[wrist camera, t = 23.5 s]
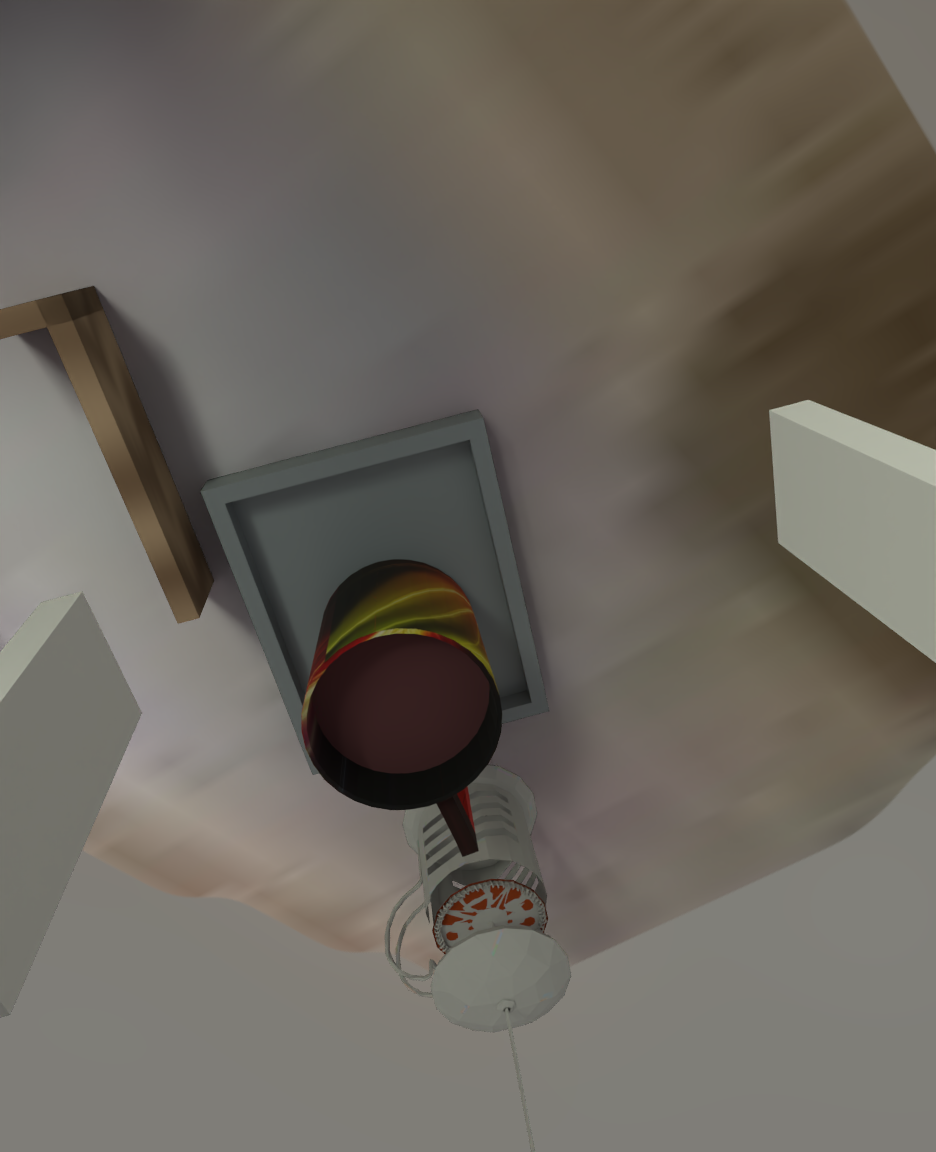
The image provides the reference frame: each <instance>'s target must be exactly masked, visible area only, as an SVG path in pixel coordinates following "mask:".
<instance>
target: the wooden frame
mask: <svg viewBox="0 0 936 1152" xmlns="http://www.w3.org/2000/svg"><path fill="white" fill-rule="evenodd" d="M46 327H47V328H48V331H49V333H50V335H51V337H52V340H53V342H54V344H55V346H56V349H57V351H58V353H59V356H60V358H61V360H62V362H63V365H64V367H65V369H66V371H67V374H68V376H69V378H70V380H71V383H72V385H73V387H74V389H75V392H76V394H77V396H78V399H79V401H80V403H81V405H82V408H83V410H84V412H85V414H86V417H87V419H88V421H89V423H90V426H91V428H92V430H93V433H94V435H95V437H96V439H97V442H98V444H99V446H100V448H101V451H102V453H103V455H104V457H105V460H106V462H107V464H108V467H109V469H110V471H111V473H112V476H113V478H114V480H115V482H116V485H117V487H118V489H119V491H120V494H121V496H122V498H123V500H124V503H125V505H126V507H127V510H128V512H129V514H130V516H131V519H132V521H133V523H134V525H135V528H136V530H137V532H138V534H139V537H140V539H141V541H142V544H143V546H144V548H145V550H146V553H147V555H148V557H149V559H150V562H151V564H152V566H153V568H154V571H155V573H156V575H157V577H158V580H159V582H160V584H161V587H162V589H163V591H164V593H165V596H166V598H167V600H168V602H169V605H170V607H171V609H172V611H173V614H174V616H175V618H176V621H177V623H178V624H179V623H182V622H186V621H190V620H194V619H197V618H200V615H201V613H202V610H203V607H204V605H205V602H206V600H207V597H208V595H209V592H210V590H211V587H212V585H213V582H214V579H213V577H212V574H211V572H210V569H209V567H208V564H207V562H206V560H205V557H204V555H203V552H202V550H201V547H200V545H199V542H198V540H197V538H196V535H195V533H194V530H193V528H192V525H191V523H190V520H189V518H188V516H187V513H186V511H185V508H184V506H183V503H182V501H181V498H180V496H179V493H178V491H177V489H176V486H175V484H174V481H173V479H172V476H171V474H170V471H169V469H168V467H167V464H166V462H165V459H164V457H163V454H162V452H161V449H160V447H159V445H158V442H157V440H156V437H155V435H154V432H153V430H152V427H151V425H150V423H149V420H148V418H147V415H146V413H145V410H144V408H143V405H142V403H141V400H140V398H139V396H138V393H137V391H136V388H135V386H134V383H133V381H132V378H131V376H130V374H129V371H128V369H127V366H126V364H125V361H124V359H123V356H122V354H121V352H120V349H119V347H118V344H117V342H116V339H115V337H114V334H113V332H112V329H111V327H110V325H109V322H108V320H107V317H106V315H105V312H104V310H103V307H102V305H101V303H100V300H99V298H98V295H97V293H96V290H95V288H94V286H91V287H87V288H83V289H79V290H75V291H71V292H67V293H63V294H59V295H55V296H51V297H47V298H43V299H39V300H35V301H31V302H27V303H23V304H19V305H16V306H12V307H8V308H4V309H0V339H3V338H7V337H10V336H14V335H18V334H22V333H26V332H30V331H34V330H38V329H42V328H46Z"/></svg>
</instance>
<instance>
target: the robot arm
mask: <svg viewBox="0 0 936 1152" xmlns="http://www.w3.org/2000/svg"><path fill="white" fill-rule="evenodd" d="M769 414H770V429H771V443H772V458H773V472H774V487H775V501H776V515H777V530H778V543H779V544H781V545H782V546H783V547H784V548H786V549H787V550H788V551H790V552H791V553H792V554H794V555H795V556H796V557H798V558H799V559H800V560H802V561H803V562H804V563H805V564H807V565H808V566H809V567H811V568H812V569H813V570H815V571H816V572H817V573H819V574H820V575H821V576H823V577H824V578H825V579H826V580H828V581H829V582H830V583H832V584H833V585H834V586H836V587H837V588H838V589H840V590H841V591H842V592H844V593H845V594H846V595H847V596H849V597H850V598H851V599H853V600H854V601H855V602H857V603H858V604H859V605H861V606H862V607H863V608H865V609H866V610H867V611H868V612H870V613H871V614H872V615H874V616H875V617H876V618H878V619H879V620H880V621H882V622H883V623H884V624H886V625H887V626H888V627H889V628H891V629H892V630H893V631H895V632H896V633H897V634H899V635H900V636H901V637H903V638H904V639H905V640H907V641H908V642H909V643H910V644H912V645H913V646H914V647H916V648H917V649H918V650H920V651H921V652H922V653H924V654H925V655H926V656H928V657H929V658H930V659H931V660H933V661H934V662H935V663H936V450H934V449H931V448H929V447H926V446H924V445H921V444H919V443H916V442H914V441H911V440H909V439H906V438H904V437H901V436H898V435H896V434H893V433H891V432H888V431H886V430H883V429H881V428H878V427H876V426H873V425H871V424H868V423H866V422H863V421H861V420H858V419H855V418H853V417H850V416H848V415H845V414H843V413H840V412H838V411H835V410H833V409H830V408H828V407H825V406H823V405H820V404H817V403H815V402H812V401H810V400H807V401H803V402H799V403H795V404H791V405H788V406H784V407H780V408H776V409H772V410H769ZM141 714H142V712H141V710H140V708H139V706H138V704H137V702H136V700H135V698H134V696H133V694H132V692H131V690H130V688H129V686H128V684H127V682H126V680H125V678H124V676H123V674H122V672H121V670H120V668H119V665H118V663H117V661H116V659H115V657H114V655H113V653H112V651H111V649H110V647H109V645H108V643H107V641H106V639H105V637H104V635H103V633H102V631H101V629H100V627H99V625H98V623H97V621H96V619H95V617H94V615H93V612H92V610H91V608H90V606H89V604H88V602H87V600H86V598H85V596H84V594H83V592H79V593H75V594H71V595H67V596H63V597H60V598H56V599H52V600H48V601H45V602H41V603H40V605H39V606H38V607H37V608H36V609H35V611H34V612H33V613H32V614H31V615H30V617H29V618H28V619H27V620H26V622H25V623H24V624H23V625H22V626H21V628H20V629H19V630H18V631H17V632H16V634H15V635H14V636H13V637H12V638H11V640H10V641H9V642H8V643H7V644H6V646H5V647H4V648H3V649H2V651H1V652H0V1018H1V1017H4V1016H8V1015H10V1014H11V1012H12V1010H13V1007H14V1005H15V1003H16V1000H17V998H18V996H19V993H20V991H21V989H22V986H23V984H24V982H25V980H26V977H27V975H28V973H29V971H30V968H31V966H32V964H33V961H34V959H35V957H36V954H37V952H38V950H39V948H40V945H41V943H42V941H43V939H44V936H45V934H46V931H47V929H48V927H49V925H50V922H51V920H52V918H53V916H54V913H55V911H56V909H57V906H58V904H59V901H60V900H61V897H62V895H63V892H64V890H65V888H66V886H67V884H68V881H69V879H70V877H71V874H72V872H73V870H74V867H75V865H76V863H77V861H78V858H79V856H80V854H81V851H82V849H83V847H84V845H85V842H86V840H87V838H88V835H89V833H90V831H91V829H92V826H93V824H94V822H95V819H96V817H97V815H98V812H99V810H100V808H101V806H102V803H103V801H104V799H105V796H106V794H107V792H108V790H109V787H110V785H111V783H112V780H113V778H114V776H115V774H116V771H117V769H118V767H119V764H120V762H121V760H122V757H123V755H124V753H125V751H126V748H127V746H128V744H129V741H130V739H131V737H132V735H133V732H134V730H135V728H136V725H137V723H138V721H139V718H140V716H141Z"/></svg>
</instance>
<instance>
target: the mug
mask: <svg viewBox="0 0 936 1152" xmlns="http://www.w3.org/2000/svg"><path fill="white" fill-rule="evenodd" d="M501 727H502V708H501V701H500V695H499V692H498V689H497V686H496V682H495V679H494V676H493V673H492V670H491V666H490V663H489V660H488V657H487V654H486V651H485V647H484V644H483V641H482V638H481V635H480V631H479V628H478V625H477V622H476V619H475V615H474V612H473V610H472V607H471V604H470V602H469V600H468V598H467V596H466V595H465V593H464V592H463V590H462V589H461V587H460V586H459V585H458V584H457V583H456V582H455V581H454V580H453V579H452V578H451V577H450V576H448V575H447V574H445V573H444V572H442V571H441V570H439V569H437V568H435V567H433V566H430V565H428V564H426V563H423V562H418V561H413V560H405V559H392V560H386V561H380V562H376V563H373V564H371V565H368V566H365V567H363V568H361V569H360V570H358V571H356V572H355V573H353V574H351V575H350V576H349V577H348V578H347V579H346V580H345V581H343V582H342V583H341V584H340V585H339V586H338V588H337V589H336V590H335V592H334V593H333V595H332V596H331V597H330V599H329V602H328V604H327V606H326V608H325V611H324V614H323V619H322V623H321V628H320V632H319V636H318V641H317V645H316V650H315V654H314V659H313V663H312V667H311V672H310V676H309V681H308V685H307V689H306V694H305V698H304V703H303V708H302V712H301V731H302V736H303V740H304V744H305V749H306V751H307V753H308V755H309V757H310V759H311V761H312V763H313V765H314V767H315V768H316V769H317V770H318V772H319V773H320V774H321V776H322V777H323V778H324V779H325V780H326V781H327V782H328V783H329V784H330V785H331V786H333V787H334V788H335V789H336V790H337V791H338V792H340V793H342V794H344V795H345V796H347V797H349V798H351V799H352V800H354V801H357V802H360V803H362V804H365V805H368V806H371V807H376V808H382V809H388V810H411V809H417V808H422V807H428V806H431V805H434V804H437V806H438V808H439V810H440V812H441V814H442V816H443V818H444V820H445V822H446V824H447V826H448V828H449V829H450V831H451V833H452V835H453V837H454V839H455V841H456V843H457V846H458V848H459V850H460V853H461V855H462V857H464V856H467V855H470V854H473V853H475V852H478V851H479V850H478V844H477V838H476V833H475V827H474V822H473V816H472V810H471V805H470V797H469V792H468V785H469V784H471V783H472V782H473V781H474V780H475V779H476V778H477V777H478V776H479V775H480V774H481V772H482V771H483V770H484V769H485V767H486V766H487V765H488V763H489V761H490V759H491V758H492V756H493V754H494V752H495V750H496V748H497V744H498V741H499V737H500V734H501Z"/></svg>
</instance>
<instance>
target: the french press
mask: <svg viewBox="0 0 936 1152" xmlns="http://www.w3.org/2000/svg"><path fill="white" fill-rule="evenodd" d="M468 792H469V797H470V805H471V810H472V816H473V822H474V827H475V833H476V838H477V844H478V850H479V851H478V852H475V853H473V854H470V855H467V856H464V857H462V855H461V853H460V850H459V848H458V846H457V843H456V841H455V839H454V837H453V835H452V833H451V831H450V829H449V828H448V826H447V824H446V822H445V820H444V818H443V816H442V814H441V812H440V810H439V808H438V806H437V804H434V805H431V806H428V807H422V808H417V809H411V810H406V811H405V816H404V820H403V828H404V831H405V835H406V838H407V842H408V845H409V846H410V847H411V848H412V849H413V850H414V851H415V852H416V853H417V854H418V861H419V872H420V880H419V882H418V883H417V884H416V885H415V886H414V887H413V888H412V889H411V890H410V891H408V892H407V893H406V894H405V895H404V896H403V897H402V898H401V899H400V901H399V902H398V903H397V904H396V906H395V907H394V909H393V911H392V913H391V916H390V918H389V920H388V923H387V928H386V932H385V954H386V956H387V959H388V961H389V963H390V964H391V966H392V967H393V968H394V970H395V971H396V972H397V973H398V974H399V976H400V978H401V980H402V982H403V983H404V984H405V986H406V987H407V989H408V990H409V991H411V992H413V993H415V994H418V995H420V996H423V997H431V998H433V999H434V1002H435V1006H436V1009H437V1010H438V1011H439V1012H440V1013H442V1015H444V1016H445V1017H446V1018H447V1019H448V1020H449V1021H450V1022H451V1023H453V1024H456V1025H459V1026H462V1027H465V1028H468V1029H471V1030H475V1031H484V1032H498V1031H502V1030H506V1029H508V1031H509V1036H510V1041H511V1046H512V1051H513V1057H514V1062H515V1068H516V1073H517V1079H518V1084H519V1089H520V1095H521V1100H522V1105H523V1111H524V1116H525V1121H526V1126H527V1132H528V1137H529V1143H530V1147H531V1152H535V1149H534V1143H533V1138H532V1132H531V1127H530V1122H529V1117H528V1111H527V1106H526V1101H525V1096H524V1090H523V1085H522V1080H521V1075H520V1069H519V1064H518V1059H517V1054H516V1049H515V1043H514V1038H513V1032H512V1028H515V1027H519V1026H523V1025H526V1024H529V1023H532V1022H533V1021H535V1020H537V1019H538V1018H540V1017H541V1016H543V1015H545V1014H546V1013H548V1012H549V1011H550V1010H551V1009H552V1008H553V1007H554V1006H555V1004H557V1003H558V1001H559V1000H560V999H561V998H562V997H563V996H564V995H565V992H566V989H567V986H568V984H569V981H570V978H571V972H570V967H569V961H568V956H567V954H566V953H565V952H564V951H563V950H562V948H561V947H560V946H559V945H558V944H557V942H556V941H555V940H554V939H553V938H552V937H550V936H549V935H546V934H544V930H545V927H546V924H547V921H548V916H547V912H546V907H545V906H546V900H547V894H546V890H545V887H544V883H543V880H542V876H541V873H540V869H539V866H538V862H537V859H536V855H535V851H534V848H533V844H532V841H531V837H530V835H531V833H532V829H533V826H534V823H535V819H536V816H537V811H536V806H535V800H534V795H533V793H532V792H531V790H530V789H529V788H528V787H527V785H526V784H525V783H524V782H523V780H522V779H521V778H520V777H519V776H517V775H515V774H513V773H511V772H509V771H507V770H505V769H503V768H501V767H499V766H492V765H487V766H486V767H485V769H484V770H483V771H482V772H481V774H480V775H479V776H478V777H477V778H476V779H475V780H474V781H473V782H472V783H471V784H469V785H468ZM512 861H514V862H516V864H515V866H514V867H513V868H512V870H511V871H510V873H509V874H508V875H507V877H506V878H505V879H498V878H499V877H500V876H501V875H502V873H503V872H504V871H505V870H506V869H507V867H508V866H509V865H510V864H511V863H512ZM521 865H522V866H524V867H525V868H524V869H523V871H522V872H521V874H520V876H519V877H518V879H517V880H516V881H514V880H511V879H512V878H513V877H514V876H515V874H516V873H517V871H518V870H519V868H520V866H521ZM529 870H531V871H532V872H533V873H532V875H531V877H530V879H529V881H528V882H527V884H526V885H523V884H521V883H522V882H523V880H524V878H525V877H526V875H527V874H528V872H529ZM536 876H537V878H538V882H539V883H538V885H537V888H536V890H535V891H534V890H533V889H531V887H532V885H533V883H534V881H535V878H536ZM452 880H453V881H455V882H458V883H460V884H462V885H466V886H465V887H463V888H462V889H459V888H457V887H455V886H453V883H452ZM422 883H423V888H424V898H425V902H424V903H423V904H422V905H421V906H420V907H419V908H417V909H416V910H415V911H414V912H413V913H412V914H411V916H410V917H409V919H408V920H407V921H406V923H405V924H404V925H403V928H402V930H401V933H400V936H399V939H398V943H397V946H396V963H395V962H394V960H393V958H392V956H391V953H390V951H389V950H390V927H391V925H392V922H393V919H394V916H395V913H396V911H397V910H398V909H399V907H400V906H401V905H402V903H403V902H404V901H405V900H406V899H407V898H408V897H409V896H410V895H411V894H412V893H414V892H415V891H416V890H417V889H418V888H419V887H420V886H421V884H422ZM430 902H431V904H432V914H433V923H434V926H433V930H432V931H433V935H434V938H435V941H436V945H437V947H438V948H439V949H440V950H441V951H442V952H443V953H444V954H445V955H444V956H443V958H442V959H441V960H440V961H439V963H438V964H436V963H435V962H434V961H433V960H430V962H429V974H428V975H426V976H417V975H410V974H408V973H406V972H404V971H402V970H401V964H400V954H399V952H400V948H401V943H402V939H403V936H404V933H405V930H406V927H407V926H408V924H409V923H410V922H411V920H412V919H413V918H414V917H415V915H416V914H418V913H419V912H420V911H421V910H422V909H423V908H426V914H427V917H428V920H429V912H428V904H429V903H430ZM429 923H430V921H429ZM433 968H434V970H435V972H434V977H433V980H432V984H431V992H432V993H426V992H421V991H419V990H418V989H416V988H413V987H412V986H411V985H410V984H409V983H408V982H407V980H406V979H405V977H407V978H409V979H411V980H419V981H426V980H427V979H429V978H430V977H431V976H432V974H433V971H434V970H433ZM404 976H405V977H404Z"/></svg>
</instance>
